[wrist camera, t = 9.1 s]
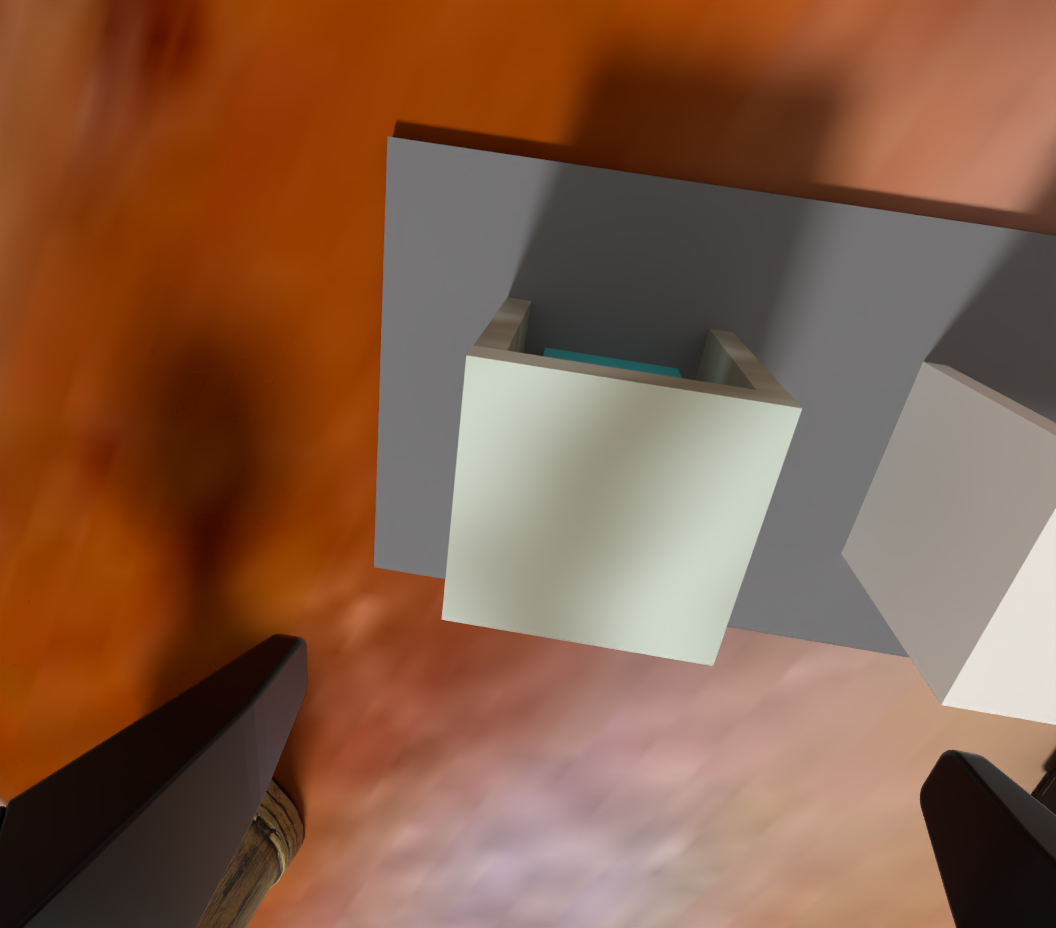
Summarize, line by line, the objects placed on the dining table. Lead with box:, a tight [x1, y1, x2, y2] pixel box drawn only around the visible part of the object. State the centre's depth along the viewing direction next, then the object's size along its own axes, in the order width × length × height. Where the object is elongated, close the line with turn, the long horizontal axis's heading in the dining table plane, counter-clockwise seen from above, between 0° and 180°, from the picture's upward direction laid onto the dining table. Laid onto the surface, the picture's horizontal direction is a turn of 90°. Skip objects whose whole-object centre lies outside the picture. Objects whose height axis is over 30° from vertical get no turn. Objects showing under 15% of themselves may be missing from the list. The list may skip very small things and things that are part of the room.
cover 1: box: [442, 297, 802, 666], centre depth 16 cm, size 7×7×6 cm
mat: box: [374, 137, 1056, 657], centre depth 19 cm, size 26×14×1 cm, turn 82°
